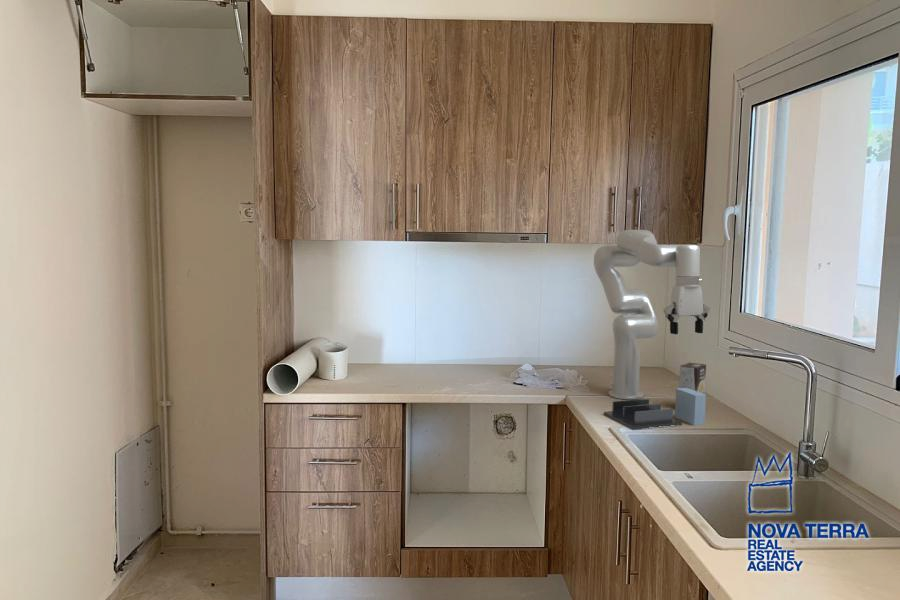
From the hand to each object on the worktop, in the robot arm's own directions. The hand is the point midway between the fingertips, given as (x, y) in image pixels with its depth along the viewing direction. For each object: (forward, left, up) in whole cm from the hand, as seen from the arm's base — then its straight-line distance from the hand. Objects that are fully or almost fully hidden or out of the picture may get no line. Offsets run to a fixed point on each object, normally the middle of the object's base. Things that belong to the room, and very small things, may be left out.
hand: (686, 333), depth 211 cm
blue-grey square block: (+3, +1, -29) cm, 29 cm away
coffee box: (-9, +11, -29) cm, 33 cm away
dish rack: (-2, -14, -29) cm, 32 cm away
